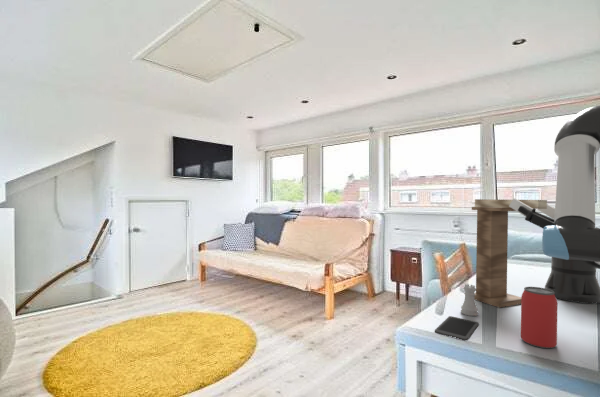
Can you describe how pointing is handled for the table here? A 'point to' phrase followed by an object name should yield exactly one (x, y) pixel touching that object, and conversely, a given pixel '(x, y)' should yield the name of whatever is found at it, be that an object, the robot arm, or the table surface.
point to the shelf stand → (492, 257)
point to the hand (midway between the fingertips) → (526, 204)
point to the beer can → (539, 317)
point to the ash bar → (505, 203)
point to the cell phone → (457, 328)
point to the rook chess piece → (469, 301)
